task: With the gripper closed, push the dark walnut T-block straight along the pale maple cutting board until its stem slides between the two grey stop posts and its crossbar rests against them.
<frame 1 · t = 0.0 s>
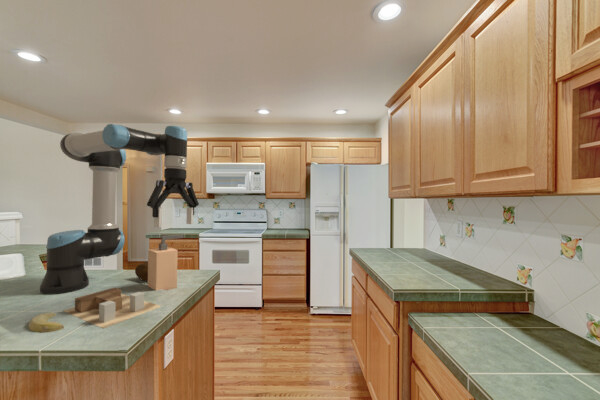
hand: (174, 225, 99), 28 cm above the countertop, fingers open, 13 cm apart
fruit: (50, 328, 78), on the countertop
pump bottle: (167, 287, 114), on the countertop
potato: (148, 280, 123), on the countertop
board: (113, 311, 89), on the countertop
posts: (122, 314, 84), resting on board
tee: (102, 306, 90), point 1 cm above the countertop, touching board
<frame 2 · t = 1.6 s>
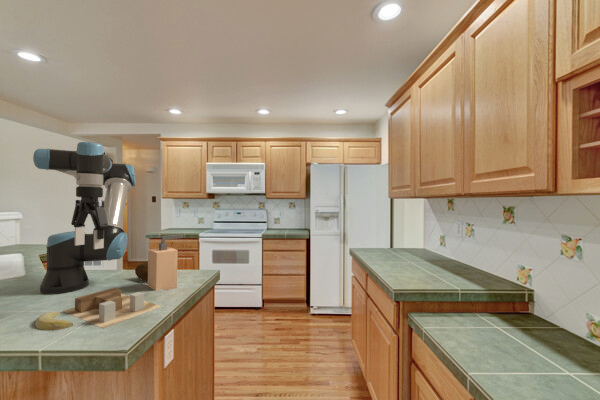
hand: (88, 246, 95), 20 cm above the countertop, fingers open, 12 cm apart
fruit: (57, 326, 79), on the countertop, touching board
everything else where it was.
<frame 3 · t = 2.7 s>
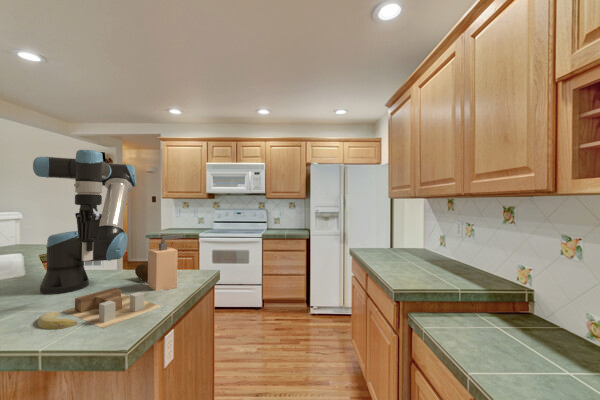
hand: (87, 260, 94), 16 cm above the countertop, fingers closed
fruit: (59, 325, 79), on the countertop
everything else where it was.
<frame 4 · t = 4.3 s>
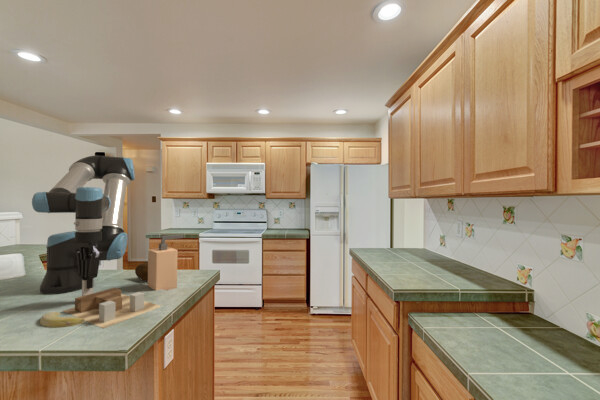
hand: (87, 297, 94), 2 cm above the countertop, fingers closed
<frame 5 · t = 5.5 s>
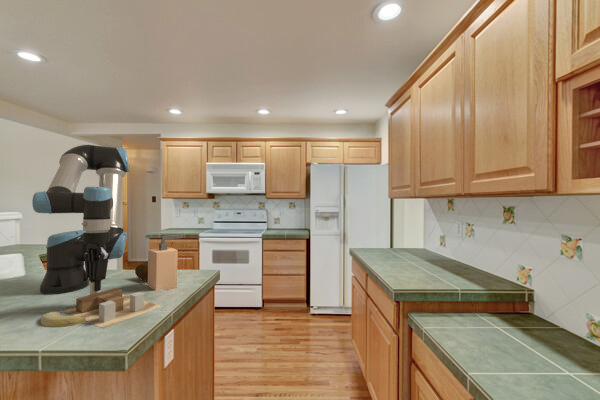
hand: (95, 299, 92), 3 cm above the countertop, fingers closed
tee: (103, 306, 90), point 1 cm above the countertop, touching gripper
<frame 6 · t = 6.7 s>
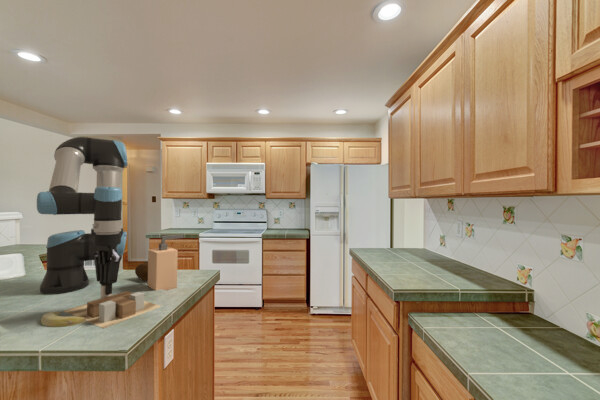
hand: (106, 303, 89), 3 cm above the countertop, fingers closed
fruit: (64, 324, 80), on the countertop, touching board
tee: (114, 310, 87), point 1 cm above the countertop, touching board, gripper
everything else where it was.
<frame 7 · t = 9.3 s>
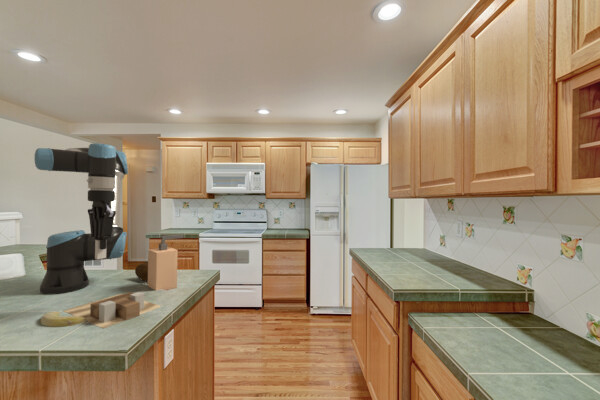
hand: (100, 258, 91), 17 cm above the countertop, fingers closed
fruit: (63, 324, 80), on the countertop
tee: (118, 312, 86), point 1 cm above the countertop, touching board
everything else where it was.
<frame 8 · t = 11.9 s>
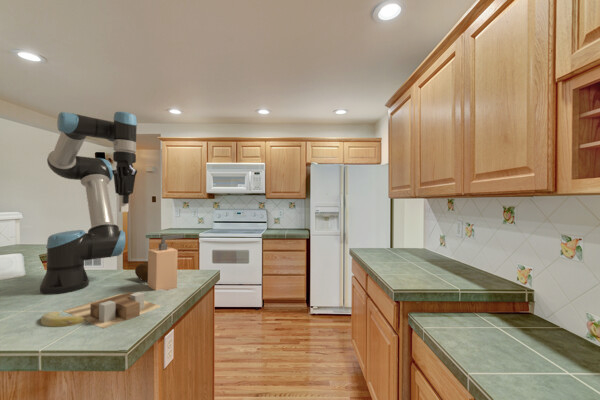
hand: (123, 211, 105), 32 cm above the countertop, fingers closed
nothing on the countertop moved.
at the end: tee 0.6 cm from the target spot, point 1.0 cm above the countertop; tee tilted 0° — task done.
